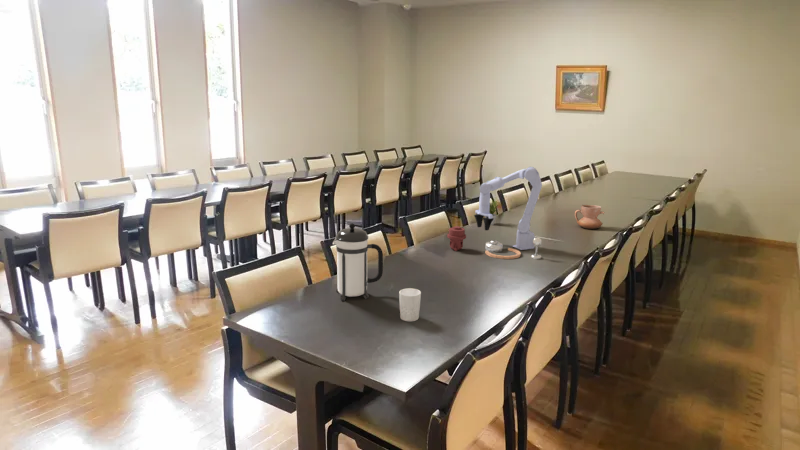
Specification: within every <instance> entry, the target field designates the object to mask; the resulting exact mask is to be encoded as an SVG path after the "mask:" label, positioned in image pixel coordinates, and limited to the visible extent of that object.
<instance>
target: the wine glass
mask: <svg viewBox="0 0 800 450" xmlns="http://www.w3.org/2000/svg"><path fill="white" fill-rule="evenodd" d="M542 243H543V241H542V238H540V237H538V236H537V237H536V236H535V238H534V239H533V244H534V247H535V253H533V254H531V255H530V258H531V259H533V260H541V259H542V255H541V254H538V249H539V247H540V246H541V245H543V244H542Z"/></svg>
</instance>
